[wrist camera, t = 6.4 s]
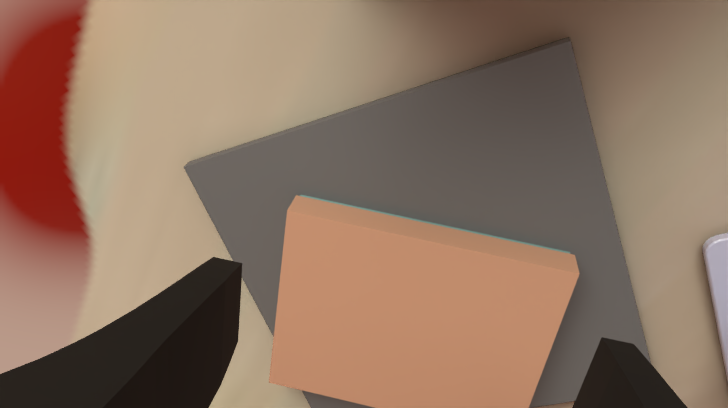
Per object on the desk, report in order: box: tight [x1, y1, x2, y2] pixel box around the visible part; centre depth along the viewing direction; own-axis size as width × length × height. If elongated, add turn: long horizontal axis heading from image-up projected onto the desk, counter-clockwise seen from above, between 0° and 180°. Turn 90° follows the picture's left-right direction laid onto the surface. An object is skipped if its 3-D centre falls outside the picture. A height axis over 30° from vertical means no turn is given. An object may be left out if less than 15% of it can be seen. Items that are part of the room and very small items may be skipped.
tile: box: [269, 195, 580, 408], centre depth 24 cm, size 2×10×8 cm
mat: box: [184, 37, 651, 408], centre depth 24 cm, size 14×14×1 cm
